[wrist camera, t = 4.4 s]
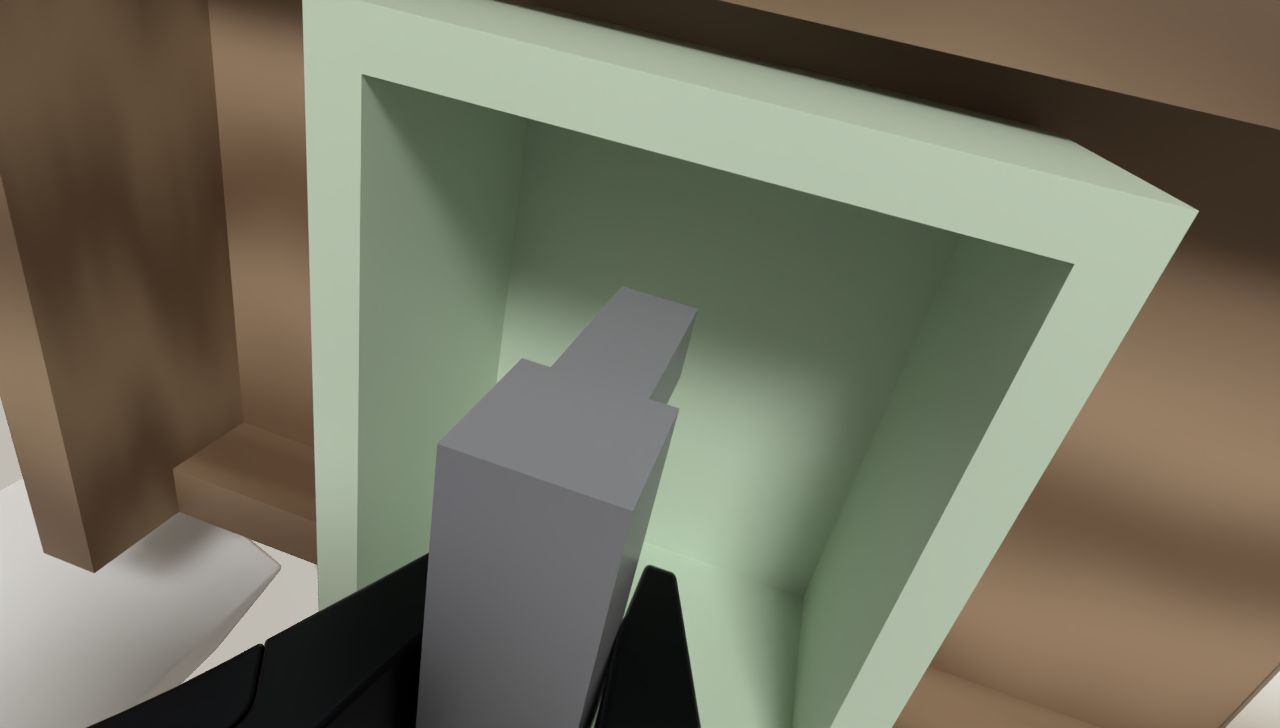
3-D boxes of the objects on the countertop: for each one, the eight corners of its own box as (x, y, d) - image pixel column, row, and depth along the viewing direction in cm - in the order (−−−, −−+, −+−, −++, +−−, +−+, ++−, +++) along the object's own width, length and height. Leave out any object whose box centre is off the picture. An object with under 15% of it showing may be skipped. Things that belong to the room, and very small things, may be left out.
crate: (826, 613, 18) (798, 1176, 9) (464, 486, 19) (144, 868, 11) (1051, 129, 12) (1545, 401, 3) (514, -1, 14) (-93, -39, 5)
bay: (1210, 798, 18) (1338, 1077, 13) (217, 438, 22) (44, 552, 18) (1878, 144, 10) (2778, 252, 5) (146, -219, 14) (-204, -339, 10)
